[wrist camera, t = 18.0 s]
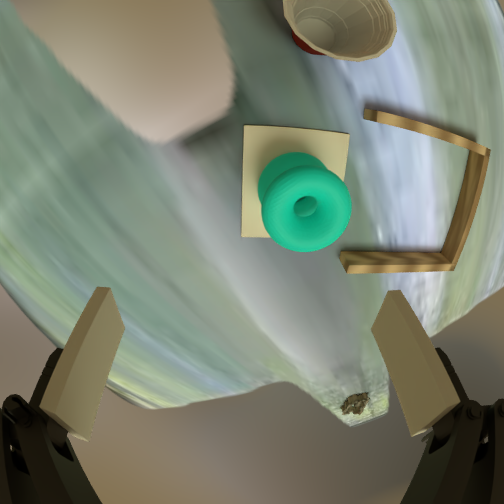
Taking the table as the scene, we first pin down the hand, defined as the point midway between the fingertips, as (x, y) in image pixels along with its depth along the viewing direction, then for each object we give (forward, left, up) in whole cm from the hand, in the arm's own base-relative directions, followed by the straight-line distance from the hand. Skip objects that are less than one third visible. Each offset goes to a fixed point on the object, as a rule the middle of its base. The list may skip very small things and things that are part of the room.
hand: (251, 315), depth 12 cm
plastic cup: (-1, +21, -27) cm, 34 cm away
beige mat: (+7, +1, -27) cm, 28 cm away
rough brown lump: (+62, -48, -27) cm, 83 cm away
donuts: (+7, +1, -26) cm, 27 cm away
